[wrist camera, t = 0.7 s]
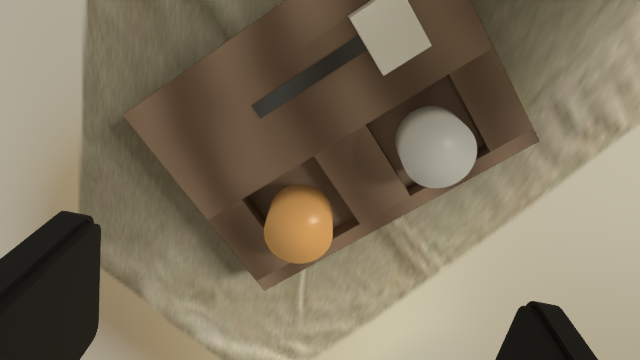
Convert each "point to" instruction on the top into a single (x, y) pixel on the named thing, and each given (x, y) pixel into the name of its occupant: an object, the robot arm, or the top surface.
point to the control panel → (323, 120)
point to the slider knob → (389, 32)
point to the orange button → (299, 224)
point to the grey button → (435, 147)
